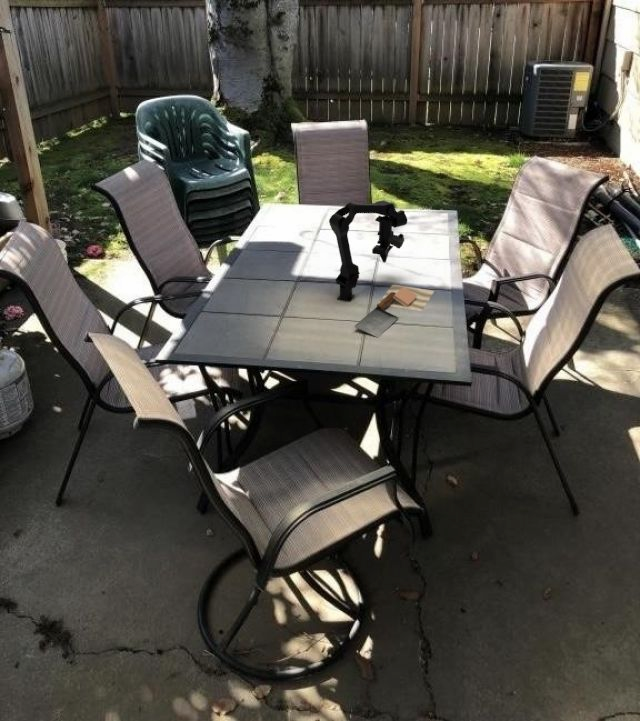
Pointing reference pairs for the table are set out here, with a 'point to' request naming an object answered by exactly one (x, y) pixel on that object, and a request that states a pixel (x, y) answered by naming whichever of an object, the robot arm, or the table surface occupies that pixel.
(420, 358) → the table surface
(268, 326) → the table surface
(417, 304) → the board
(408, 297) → the tile
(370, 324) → the meat cleaver
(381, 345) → the table surface
